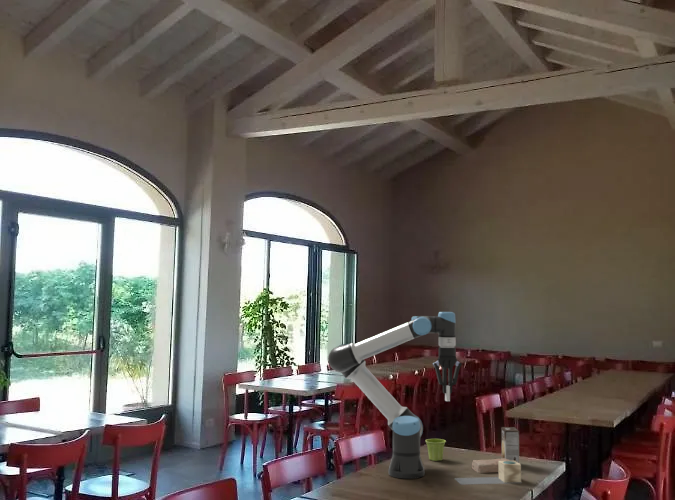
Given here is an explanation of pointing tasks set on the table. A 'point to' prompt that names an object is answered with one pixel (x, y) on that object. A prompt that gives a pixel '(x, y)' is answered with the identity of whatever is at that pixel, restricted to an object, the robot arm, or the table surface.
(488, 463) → the brick
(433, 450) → the plant pot
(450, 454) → the table surface
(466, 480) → the rubber mat
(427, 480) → the table surface
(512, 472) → the beech block
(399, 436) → the robot arm
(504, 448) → the coffee box
